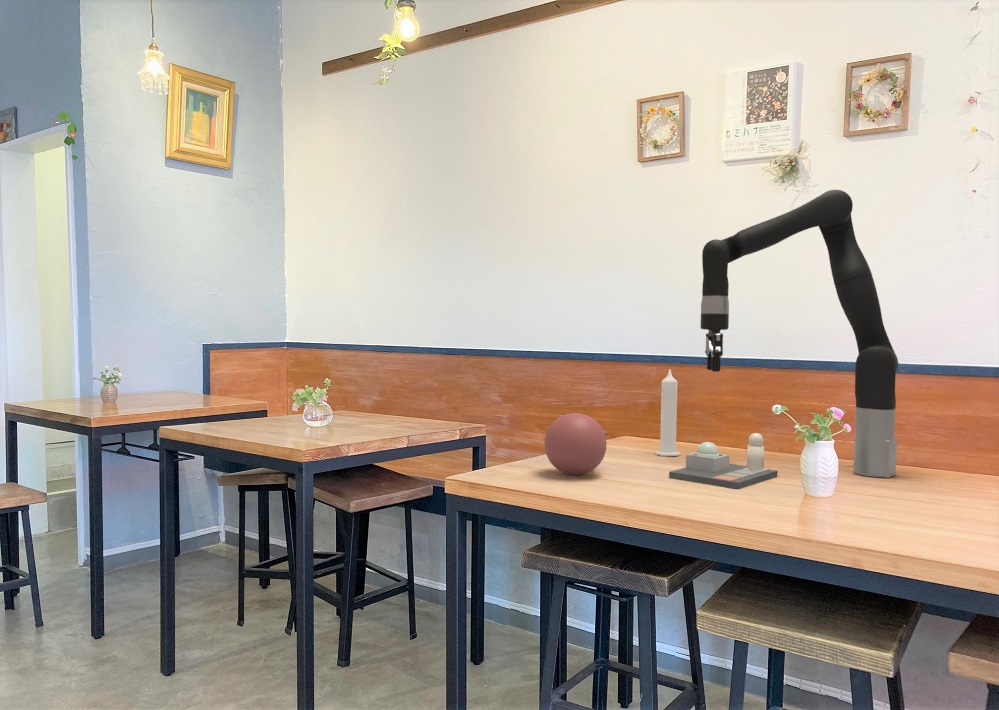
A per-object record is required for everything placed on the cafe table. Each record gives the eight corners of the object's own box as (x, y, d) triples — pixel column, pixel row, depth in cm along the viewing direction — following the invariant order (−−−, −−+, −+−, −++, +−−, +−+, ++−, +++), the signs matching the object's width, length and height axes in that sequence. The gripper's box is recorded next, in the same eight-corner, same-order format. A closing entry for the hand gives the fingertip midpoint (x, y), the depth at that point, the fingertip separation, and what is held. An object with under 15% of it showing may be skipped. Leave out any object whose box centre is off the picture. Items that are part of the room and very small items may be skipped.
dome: (722, 463, 192) (723, 442, 192) (712, 465, 188) (712, 444, 188) (702, 460, 196) (703, 439, 196) (692, 462, 192) (693, 441, 192)
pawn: (766, 469, 192) (767, 433, 192) (759, 471, 189) (760, 434, 189) (751, 467, 195) (752, 431, 194) (744, 469, 192) (745, 432, 191)
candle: (654, 456, 219) (657, 369, 218) (655, 452, 226) (657, 368, 225) (680, 457, 217) (682, 370, 216) (680, 453, 224) (682, 369, 223)
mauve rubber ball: (630, 474, 191) (632, 413, 191) (575, 483, 178) (576, 418, 178) (586, 464, 203) (587, 407, 202) (531, 473, 190) (532, 412, 190)
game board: (777, 476, 191) (777, 456, 191) (738, 489, 175) (738, 467, 175) (711, 466, 203) (712, 448, 203) (669, 477, 187) (669, 457, 187)
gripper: (733, 312, 204) (731, 372, 204) (724, 313, 218) (722, 369, 218) (704, 311, 204) (703, 371, 205) (697, 313, 219) (696, 369, 219)
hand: (713, 370), depth 212 cm, fingers open, 8 cm apart
